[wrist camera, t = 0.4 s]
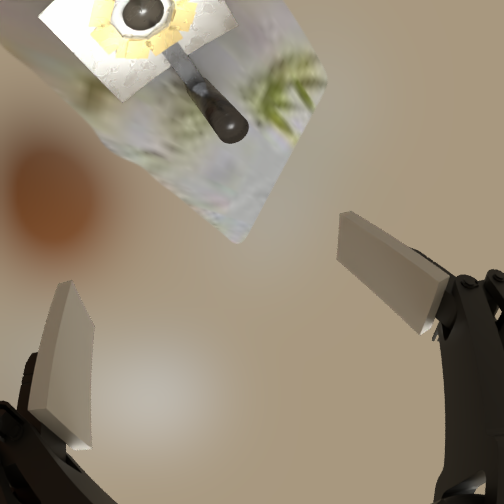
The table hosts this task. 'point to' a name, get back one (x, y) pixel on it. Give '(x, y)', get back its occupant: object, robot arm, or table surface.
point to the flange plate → (135, 25)
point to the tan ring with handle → (171, 62)
